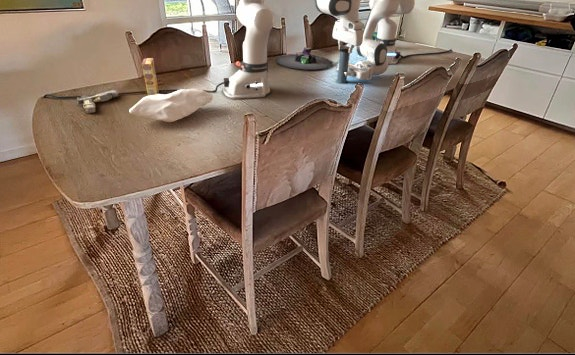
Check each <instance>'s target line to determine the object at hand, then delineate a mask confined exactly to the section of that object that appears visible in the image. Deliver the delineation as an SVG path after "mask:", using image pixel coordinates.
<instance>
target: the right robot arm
mask: <svg viewBox="0 0 575 355" xmlns="http://www.w3.org/2000/svg"><path fill="white" fill-rule="evenodd" d="M415 3H416V0H369V1H368V5H369V9H370V11H369V14H368V16H367V19H366V22H365V24H364V25H365V27H364V29H363V32H364V34H363V42H362V44H361V46H356V53H357V55H358V56H359V57H362V58H366V59H363V60H358V61H356V63H352V62H349V65H348V72H344V75H345V76H347V77H348V76H349V77H353V78H356V79H358V80H360V81H361V80H362V81H365V80H367V81H368V80H370V81H371V80H373V77H375V76H376V77H377V76H380V75H382V74H384V73H386V72H387V70H388V68H389V65H396V64H397V63H398V62H399V61H400V58H401V59H404V58H408V57H417V56H428V55H440V54H446V53H450V52H453V49H452V48H451V49H448V50H446V51H439V52H426V53H423V52H422V53H411V54H407V55H401V52H402V51H398V48H397V46H396V42H397V37H396V36H397V29H398V24H397V23H396V22H395V21H394V19H391V18H390V17H392V16H393V15H408V14H411V13H412V11H413V10H414V8H415ZM376 29H377V31H376ZM374 32H377V37H376V39H375V41H374V40H373V39H372V37H373V34H374ZM338 68H339V63H338V64H337V69H336V72H337V73H338Z"/></svg>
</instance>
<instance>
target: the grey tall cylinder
mask: <svg viewBox="0 0 575 355" xmlns="http://www.w3.org/2000/svg"><path fill="white" fill-rule="evenodd" d="M350 55H351V53H350V54H349V53H347V52H341V51H340V50H339V60H338V64H339V68H338V67H337V69H338V72H337V78H336V79H337V80H336V82H337V83H339V84H346V83H347V80H348V76H345V75H344V72H348V65H349V63H350Z"/></svg>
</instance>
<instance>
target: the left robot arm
mask: <svg viewBox="0 0 575 355" xmlns="http://www.w3.org/2000/svg"><path fill="white" fill-rule="evenodd" d="M264 2H265V0H239V3H238V5H237V6H236V10H235V14H236V18H237V20H238V21H239V23H240V24H241V25H242V26H244V27H245V28H246V31H245V37H244V41H243V42H242V59H243V60H242V61H236V62H235V65H236V66H237V67H239V69H237V71H236V72H235V73H234V74H232V75H231V76H230V77H224V78H223V82H220V83H218V84H217V85H216V87H215V89H214V90H205V89H203V90H204V91H206V92H208V93H216V92H217V91H218V89H219V87H220V86H222V85H223V86H224V88H223V91H222V92H223V94H224V95H225V96H226V97H228V98H230V99H233V100H236V99H237V100H238V99H239V100H240V99H253V98H254V99H255V98H264V97H266V95H268V94H269V93H270V92H271V88H270V84H269V78H268V76H269V75H268V72H269V61H268V43H269V37H270V33H271V30H272V29H273V27H274V25H275V15H274V13H273V11H271V9H270V8H269V7H267V6H266V5H264ZM314 5H315V8H316V10H317V12H319V13H321V14H327V15H329V16H333V17H339V19H336V21H335V22H334V25H333V29H332V39H334V40H337V43H338V51H340V47H341V46H344V45H343V43H345V44H347V45H349V46H348V47H350V48H349V49H348V52H347V53H349V54H350V55H351V54H352V53H353V50H354V48H355V47H357V46H361V44H362V42H363V34H364V32H363V30H364V27H365V24H364V23H363V22H362V21H361V19H360V18H359V17H360V15H359V10H360V8H361V0H314ZM177 90H181V89H175V88H174V89H158V91H159V92H158V93H162V92H164V93H165V92H175V91H177ZM145 93H146V94H148V93H147V90H137V91H126V92H118V94H119V96H120V95H121V96H122V95H135V94H145ZM85 95H86V96H93V95H94V94H88V95H87V94H85ZM81 96H82V95H54V94H51V93H45V94H43V95H42V98H46V97H52V98H55V99H78V98H79V99H80V98H81Z"/></svg>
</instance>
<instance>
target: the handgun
mask: <svg viewBox="0 0 575 355" xmlns="http://www.w3.org/2000/svg"><path fill="white" fill-rule="evenodd" d="M118 93H119V92H118V91H117V90H116V89H112V90H108V91H105V92H104V91H103V92H101V93H96V94H92V95H93V96H86V95H87V94H85V95H84V94H83V95H80V96H81V98H76V101H77V104H78V105H82V108H83V109H84V110H85V113H87V114H91V113H95V112H96V104H95V103H98V102H106V101H109V100H111V99H113V98H117V97H119V96H120V95H119V94H118Z"/></svg>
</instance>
